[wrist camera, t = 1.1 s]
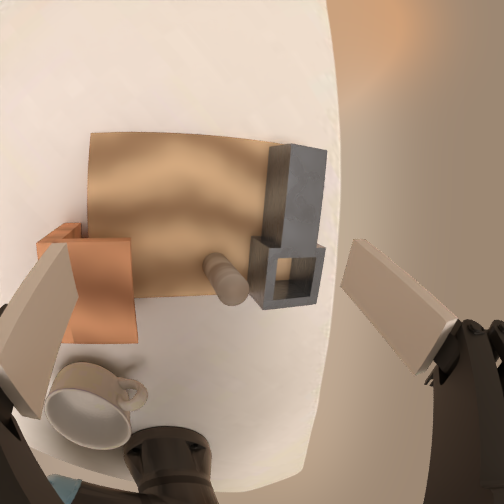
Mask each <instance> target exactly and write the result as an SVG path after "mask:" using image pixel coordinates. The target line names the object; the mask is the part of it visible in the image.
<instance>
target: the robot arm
mask: <svg viewBox="0 0 504 504" xmlns="http://www.w3.org/2000/svg"><path fill="white" fill-rule="evenodd" d="M340 287H341V288H342V289H343V290H344V291H345V292H346V293H347V295H348V296H349V297H350V298H351V300H352V301H353V302H354V303H355V304H356V305H357V307H358V308H359V309H360V310H361V311H362V313H363V314H364V315H365V316H366V317H367V318H368V320H369V321H370V322H371V323H372V324H373V326H374V327H375V328H376V329H377V331H378V332H379V333H380V334H381V335H382V337H383V338H384V339H385V340H386V342H387V343H388V344H389V345H390V346H391V348H392V349H393V350H394V352H395V353H396V354H397V355H398V356H399V358H400V359H401V360H402V362H403V363H404V364H405V365H406V367H407V368H408V369H409V371H410V372H411V373H412V374H413V376H416V375H418V374H421V373H423V372H425V371H426V370H427V369H428V367H429V366H430V364H431V363H432V361H433V360H434V362H435V363H436V364H437V365H436V366H435V368H434V369H433V371H432V372H431V374H430V375H429V376H428V378H427V379H426V381H425V385H427V384H428V382H429V381H430V380H431V379H433V381H432V382H431V384H430V386H433V388H434V409H433V435H432V447H431V457H430V466H429V473H428V480H427V487H426V493H425V498H424V503H423V504H504V322H503V321H500V320H494V321H493V322H492V324H491V326H490V328H489V329H488V330H485V329H484V328H483V327H482V326H481V325H480V324H478V323H477V322H475V321H473V320H468V319H467V320H464V321H463V322H461V321H460V320H459V319H458V318H457V317H456V316H455V315H454V314H453V313H452V312H451V311H450V310H449V309H447V308H446V307H445V306H444V305H443V304H442V303H441V302H440V301H439V300H438V299H437V298H435V297H434V296H433V295H432V294H431V293H430V292H429V291H428V290H426V289H425V288H424V287H423V286H422V285H421V284H420V283H418V282H417V281H416V280H415V279H413V277H411V276H410V275H409V274H408V273H406V272H405V271H404V270H403V269H402V268H400V267H399V266H398V265H397V264H396V263H395V262H393V261H392V260H391V259H390V258H388V257H387V256H386V255H385V254H383V253H382V252H381V251H380V250H378V249H377V248H376V247H375V246H373V245H372V244H371V243H369V242H368V241H367V240H366V239H353V242H352V246H351V250H350V254H349V258H348V261H347V265H346V269H345V272H344V275H343V279H342V282H341V286H340ZM77 300H78V293H77V289H76V285H75V281H74V277H73V272H72V268H71V263H70V258H69V253H68V248H67V243H52V244H51V245H50V246H49V247H48V249H47V250H46V251H45V252H44V254H43V255H42V256H41V258H40V259H39V260H38V262H37V263H36V264H35V266H34V267H33V268H32V270H31V271H30V272H29V274H28V275H27V277H26V278H25V280H24V281H23V282H22V284H21V285H20V287H19V288H18V290H17V291H16V293H15V294H14V296H13V297H12V299H11V301H10V302H9V304H4V305H3V306H2V307H1V308H0V504H219V503H218V501H217V498H216V496H215V493H214V490H213V488H212V485H211V482H210V475H211V458H212V455H211V450H210V447H209V444H208V442H207V440H206V439H205V438H204V437H203V436H202V435H200V434H199V433H197V432H194V431H192V430H188V429H184V428H179V427H155V428H149V429H145V430H142V431H139V432H137V433H134V434H133V435H131V436H130V438H129V440H128V441H127V442H126V443H125V444H124V445H123V452H124V460H125V463H126V465H127V467H128V469H129V471H130V473H131V475H132V477H133V479H134V480H135V482H136V484H137V486H138V490H139V493H136V492H130V491H124V490H119V489H113V488H109V487H104V486H99V485H96V484H91V483H88V482H84V481H82V480H80V479H77V480H76V479H72V478H68V477H65V476H61V475H57V474H52V475H49V476H48V477H46V476H45V474H44V472H43V471H42V469H41V468H40V466H39V464H38V462H37V461H36V459H35V457H34V456H33V453H32V452H31V450H30V448H29V446H28V444H27V442H26V440H25V438H24V436H23V434H22V432H21V430H20V428H19V426H18V424H17V421H16V419H15V418H14V416H13V415H12V414H11V413H12V410H13V406H14V407H15V408H16V409H17V410H18V412H19V413H20V414H21V415H22V416H25V417H29V418H34V419H38V420H40V419H41V414H42V409H43V405H44V401H45V397H46V393H47V389H48V385H49V381H50V378H51V374H52V370H53V367H54V364H55V361H56V357H57V354H58V351H59V348H60V345H61V342H62V339H63V336H64V333H65V331H66V328H67V325H68V322H69V320H70V317H71V315H72V312H73V309H74V307H75V304H76V302H77ZM499 357H500V359H501V360H502V363H501V364H500V366H499V367H498V368H497V367H496V361H497V360H498V358H499Z"/></svg>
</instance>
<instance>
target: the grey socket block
mask: <svg viewBox="0 0 504 504" xmlns="http://www.w3.org/2000/svg"><path fill="white" fill-rule="evenodd" d="M326 159H327V150H322V149H318V148H312V147H307V146H302V145H296V144H285V145H278V146H271V147H269V156H268V167H267V178H266V189H265V200H264V211H263V222H262V233H261V236H251V241H250V253H249V264H248V276H247V282H248V284H249V294H250V295H251V297H252V298H253V299H254V300H255V301H256V303H257V304H258V305H259V306H260V307H261V309H262V310H268V309H278V308H287V307H295V306H304V305H312V304H316V302H317V297H318V292H319V286H320V280H321V274H322V268H323V262H324V256H325V249H326V248H325V247H323V246H321V245H319V244H317V239H318V231H319V223H320V216H321V207H322V199H323V190H324V180H325V170H326ZM278 258H292V261H291V269H290V276H289V280H278V281H275V279H276V270H277V262H278Z"/></svg>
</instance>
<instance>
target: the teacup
mask: <svg viewBox="0 0 504 504" xmlns="http://www.w3.org/2000/svg"><path fill="white" fill-rule="evenodd" d="M126 389H135V390H137V393H136V394H135V396H134V397H133V398H132V399H130V400H129V396H128V393H127V391H126ZM147 397H148V392H147V390H146V388H145V387H144V385H143V384H142V383H140V382H139V381H137V380H132V379H124V378H123V377H116V376H115V375H114V374H113V373H111V372H110V371H109V370H107V369H105V368H103V367H101V366H99V365H96V364H92V363H87V362H77V363H73V364H70V365H67V366H66V367H64V368H63V369H62V370H61V371H60V372H59V373H58V375H57V376H56V378H55V380H54V382H53V384H52V387H51V389H50V392H49V395H48V396H47V398H46V400H45V403H44V410H45V414H46V416H47V418H48V420H49V422H50V424H51V425H52V426H53V427H54V429H55V430H56V431H57V432H59V433H60V434H61V435H62V436H64V437H65V438H66V439H68V440H70V441H72V442H73V443H76V444H78V445H80V446H83V447H87V448H91V449H98V450H109V449H115V448H118V447H120V446H122V445H124V444H125V443H126V442H127V441H128V440H129V438H130V436H131V425H130V411H136V410H138V409H140V408H141V407H142V406H143V405H144V404H145V403H146V401H147Z"/></svg>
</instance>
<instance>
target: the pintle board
mask: <svg viewBox="0 0 504 504" xmlns="http://www.w3.org/2000/svg"><path fill="white" fill-rule="evenodd" d="M278 145H285V144H278V143H272V142H265V141H257V140H249V139H241V138H232V137H222V136H211V135H198V134H181V133H156V132H111V133H91V137H90V148H89V162H88V187H87V218H88V238H82V236H81V223H64V224H62V225H61V226H59V227H58V228H56V229H55V230H54V231H52V232H51V233H49V234H48V235H47V236H45V237H44V238H43V239H41V240H40V241H39V242H37V243H36V246H37V255H38V260H39V259H40V258H41V256H42V255H43V254H44V252H45V251H46V250H47V249H48V247H49V246H50V245H51V244H52V243H67V248H68V253H69V258H70V263H71V268H72V272H73V277H74V281H75V285H76V289H77V293H78V300H77V302H76V304H75V307H74V309H73V312H72V315H71V317H70V320H69V322H68V325H67V328H66V331H65V333H64V336H63V339H62V342H61V343H74V344H129V343H138V332H137V323H136V313H135V303H134V298H148V297H176V296H199V295H217V296H218V297H219V299H220V301H221V302H222V303H224V304H225V305H228V306H235V305H239V304H241V303H242V302H243V301H244V300H245V299H246V298H247V296H248V294H249V284H248V282H247V276H248V264H249V253H250V241H251V236H261V233H262V222H263V211H264V200H265V189H266V178H267V167H268V156H269V147H271V146H278ZM291 261H292V258H278V262H277V270H276V279H275V281H278V280H289V276H290V269H291Z"/></svg>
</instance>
